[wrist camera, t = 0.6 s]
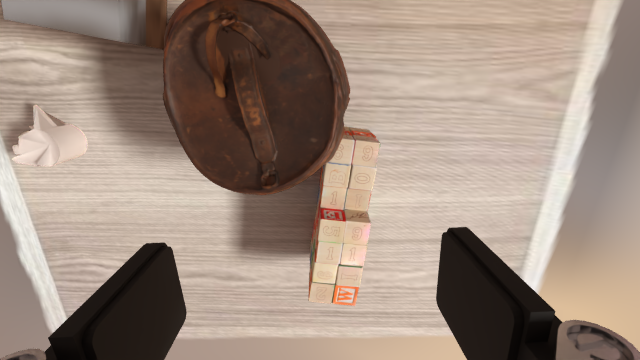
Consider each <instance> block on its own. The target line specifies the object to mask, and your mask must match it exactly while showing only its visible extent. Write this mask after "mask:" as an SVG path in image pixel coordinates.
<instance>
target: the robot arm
mask: <svg viewBox="0 0 640 360" xmlns="http://www.w3.org/2000/svg"><path fill="white" fill-rule="evenodd" d="M436 300H437V305H438V307H439V310H440V311H441V313H442V315H443V317H444V319H445V320H446V322H447V324H448V326H449V328H450V329H451V331H452V333H453V335H454V337H455V339H456V340H457V342H458V344H459V346H460V347H461V349H462V351H463V353H464V355H465V357H466V358H467V360H640V352H639V351H638V350H637V349H636V348H635V347H634V346H633V344H631V343H630V342H628V341H627V340H626V339H625V338H623V337H622V336H620V335H618V334H617V333H615V332H613V331H612V330H610V329H607V328H605V327H602V326H600V325H598V324H594V323H591V322H586V321H580V320H570V321H565V322H562V321H560V320H559V319H558V318H557V317H556V316H555V315H554V314H555V311H554V309H553V308H551V307H550V306H549V305H548V304H547V303H546V302H545V301H544V300H543V299H542V298H541V297H540V296H539V295H538V294H537V293H536V292H535V291H534V290H533V289H532V288H531V287H529V286H528V285H527V284H526V283H525V282H524V281H523V280H522V279H521V278H520V277H519V276H518V275H517V274H516V273H515V272H514V271H513V270H512V269H511V268H509V267H508V266H507V265H506V264H505V263H504V262H503V261H502V260H501V259H500V258H499V257H498V256H497V255H496V254H495V253H494V252H493V251H492V250H491V249H490V248H488V247H487V246H486V245H485V244H484V243H483V242H482V241H481V240H480V239H479V238H478V237H477V236H476V235H475V234H474V233H473V232H472V231H471V230H470V229H468V228H467V227H458V228H449V229H448V230H447V232H444V233H443V234H442V241H441V252H440V262H439V273H438V284H437V295H436ZM185 319H186V307H185V302H184V298H183V294H182V289H181V285H180V281H179V276H178V272H177V267H176V263H175V259H174V254H173V250H172V248H171V247H170V246H169V247H167V245H166V243H147V244H145V245H143V246H142V247H141V248H140V249H139V250H138V251H137V252H136V253H135V254H134V255H133V256H132V257H131V258H130V259H129V260H128V261H127V262H126V263H125V264H124V265H123V266H122V267H121V268H120V269H119V270H118V271H117V272H116V273H115V274H114V275H113V276H111V277H110V278H109V279H108V280H107V281H106V282H105V283H104V284H103V285H102V286H101V287H100V288H99V289H98V290H97V291H96V292H95V293H94V294H93V295H92V296H91V297H90V298H89V299H88V300H87V301H86V302H85V303H84V304H83V305H82V306H80V307H79V308H78V309H77V310H76V311H75V312H74V313H73V314H72V315H71V316H70V317H69V318H68V319H67V320H66V321H65V322H64V323H63V324H62V325H61V326H60V327H59V328H58V329H57V330H56V331H55V332H54V333H53V334H52V335H51V336H50V337H48V339H49V341H50V344H51V346H50V347H49V348H48V349H47V350H46V351H45V352H44V351H42V350H40V349H27V350H22V351H18V352H15V353H13V354H10V355H7V356H5V357H3V358H1V359H0V360H164V359H165V357H166V355H167V353H168V351H169V349H170V348H171V346H172V344H173V342H174V340H175V338H176V337H177V335H178V333H179V331H180V329H181V327H182V325H183V323H184V321H185Z"/></svg>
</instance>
